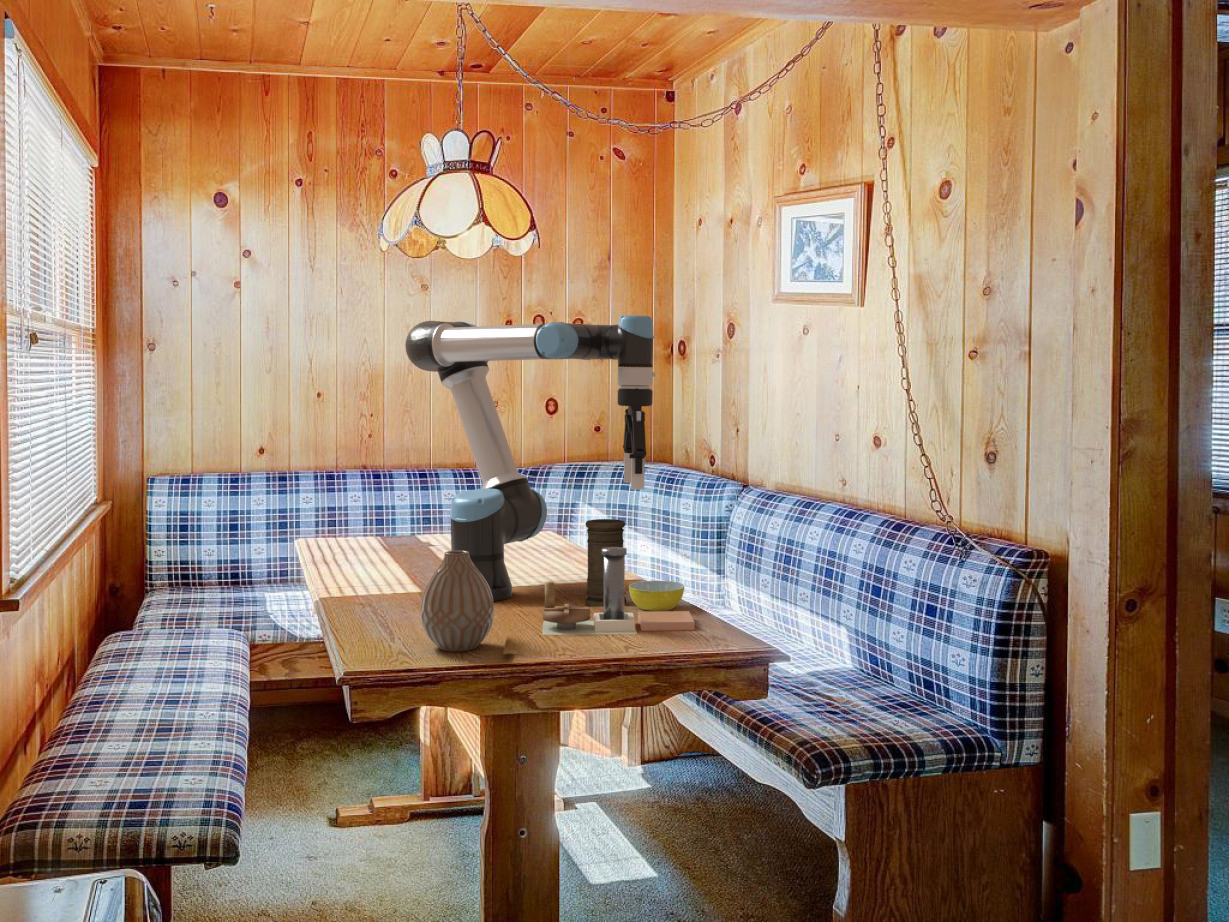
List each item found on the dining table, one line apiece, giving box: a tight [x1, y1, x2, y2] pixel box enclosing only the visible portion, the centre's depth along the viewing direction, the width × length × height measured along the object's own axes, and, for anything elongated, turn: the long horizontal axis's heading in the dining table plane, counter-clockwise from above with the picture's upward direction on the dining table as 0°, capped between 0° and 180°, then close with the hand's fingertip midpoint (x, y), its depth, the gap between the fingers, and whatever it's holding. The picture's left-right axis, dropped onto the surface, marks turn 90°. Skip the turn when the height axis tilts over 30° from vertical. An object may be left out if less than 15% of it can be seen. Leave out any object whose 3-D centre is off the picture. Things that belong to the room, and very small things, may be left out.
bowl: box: [628, 580, 685, 612], centre depth 245 cm, size 11×12×6 cm
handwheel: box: [542, 581, 591, 623], centre depth 226 cm, size 9×9×6 cm
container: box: [584, 518, 627, 608], centre depth 256 cm, size 9×9×18 cm
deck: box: [541, 612, 638, 636], centre depth 226 cm, size 18×12×4 cm
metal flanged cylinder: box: [601, 546, 628, 620], centre depth 226 cm, size 5×5×15 cm
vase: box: [420, 550, 495, 653], centre depth 216 cm, size 13×13×18 cm
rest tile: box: [637, 610, 695, 632], centre depth 229 cm, size 10×10×3 cm
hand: (633, 486), depth 258 cm, fingers open, 13 cm apart
